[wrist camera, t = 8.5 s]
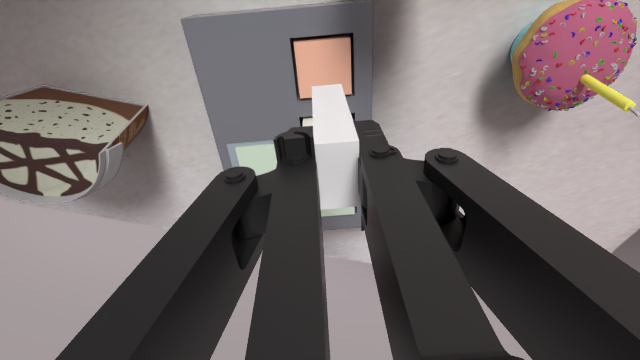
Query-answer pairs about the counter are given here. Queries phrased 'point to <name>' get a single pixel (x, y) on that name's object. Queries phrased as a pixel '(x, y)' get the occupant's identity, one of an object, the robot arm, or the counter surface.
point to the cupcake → (574, 54)
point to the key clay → (323, 62)
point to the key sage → (337, 211)
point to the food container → (63, 142)
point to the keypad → (272, 77)
